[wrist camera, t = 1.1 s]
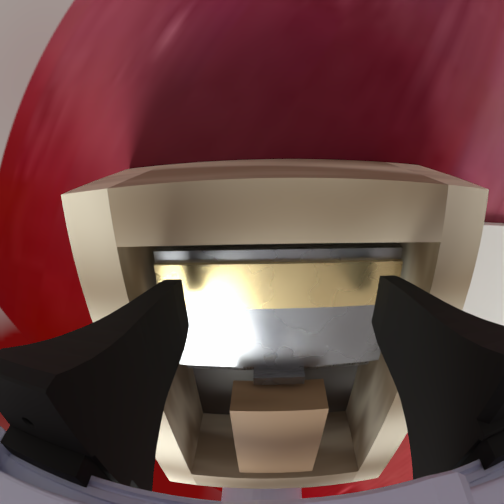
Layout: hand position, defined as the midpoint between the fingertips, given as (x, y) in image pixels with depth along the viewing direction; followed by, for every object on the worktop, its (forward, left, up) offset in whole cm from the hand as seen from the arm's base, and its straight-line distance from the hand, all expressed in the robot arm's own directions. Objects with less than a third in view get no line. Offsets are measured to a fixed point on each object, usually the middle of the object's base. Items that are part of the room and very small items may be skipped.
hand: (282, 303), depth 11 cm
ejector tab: (-6, 0, -2) cm, 6 cm away
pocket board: (-5, 0, -5) cm, 7 cm away
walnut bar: (-9, 0, -1) cm, 9 cm away
